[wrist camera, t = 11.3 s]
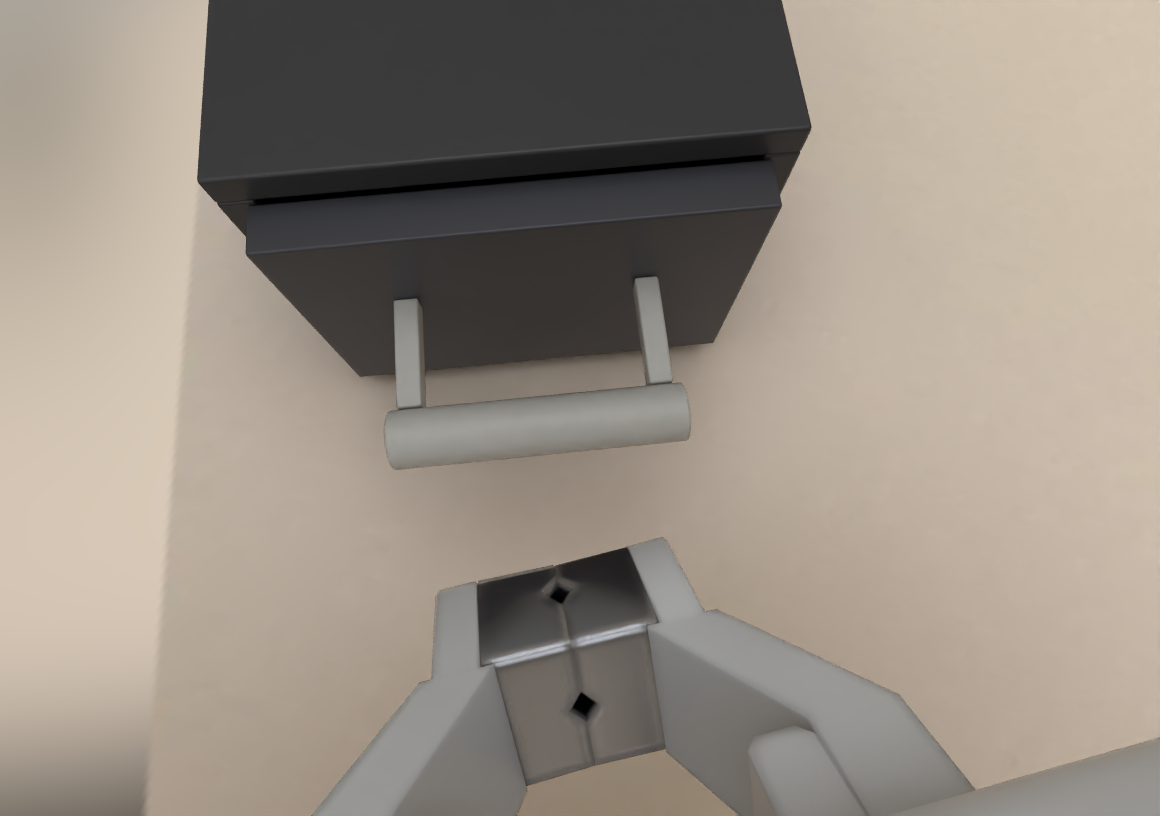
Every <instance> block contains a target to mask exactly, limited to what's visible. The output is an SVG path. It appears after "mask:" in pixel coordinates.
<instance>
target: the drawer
mask: <svg viewBox="0 0 1160 816" xmlns="http://www.w3.org/2000/svg"><path fill="white" fill-rule="evenodd" d="M715 160H716V159H709V160H697V161H686V162H675V163H663V164H652V165H641V166H629V167H618V168H607V169H595V170H584V171H573V172H561V173H550V174H539V175H527V176H516V177H505V178H493V179H482V180H470V181H459V182H448V183H436V184H425V185H414V186H402V187H391V188H380V189H368V190H357V191H346V192H334V193H323V194H312V195H311V196H312V198H313V199H314V200H311V201H300V202H289V203H277V204H266V205H255V206H248V208H247V233H246V255H247V257H248V258H249V259H250V260H251V261H252V262H253V263H254V264H255V265H256V266H257V267H258V268H259V269H260V270H261V271H262V273H263V274H264V275H265V276H266V277H267V278H268V279H269V280H270V281H271V282H272V283H273V284H274V285H275V286H276V288H277V289H278V290H279V291H280V292H281V293H282V294H283V295H284V296H285V297H286V298H287V299H288V300H289V301H290V302H291V304H292V305H293V306H294V307H295V308H296V309H297V310H298V311H299V312H300V313H301V314H302V315H303V316H304V317H305V318H306V320H307V321H308V322H309V323H310V324H311V325H312V326H313V327H314V328H315V329H316V330H317V331H318V332H319V333H320V335H321V336H322V337H323V338H324V339H325V340H326V341H327V342H328V343H329V344H330V345H331V346H332V347H333V348H334V349H335V351H336V352H337V353H338V354H339V355H340V356H341V357H342V358H343V359H344V360H345V361H346V362H347V363H348V364H349V366H350V367H351V368H352V369H353V370H354V371H355V372H356V373H357V374H358V375H359V376H360V377H363V376H374V375H384V374H394V373H396V405H397V408H398V409H399V410H395V411H390V412H388V413H387V415H386V419H385V426H384V439H385V448H386V453H387V457H388V460H389V463H390V465H391V467H392V468H393V469H395V470H401V469H410V468H420V467H430V466H440V465H450V464H460V463H470V462H480V461H490V460H500V459H509V458H519V457H529V456H539V455H549V454H559V453H569V452H579V451H589V450H598V449H608V448H618V447H628V446H638V445H648V444H658V443H668V442H678V441H686V440H688V438H689V435H690V429H691V418H690V407H689V401H688V396H687V392H686V389H685V387H684V385H683V384H682V383H672V381H673V373H672V367H671V360H670V353H669V347H674V346H684V345H694V344H705V343H713V342H714V340H715V338H716V336H717V334H718V332H719V330H720V328H721V326H722V324H723V322H724V320H725V318H726V316H727V314H728V312H729V310H730V308H731V306H732V305H733V303H734V301H735V299H736V297H737V295H738V293H739V291H740V289H741V287H742V285H743V283H744V281H745V279H746V277H747V275H748V273H749V271H750V269H751V267H752V265H753V263H754V261H755V259H756V257H757V255H758V253H759V251H760V249H761V247H762V245H763V243H764V241H765V239H766V237H767V235H768V233H769V231H770V229H771V227H772V225H773V223H774V221H775V219H776V217H777V215H778V213H779V211H780V209H781V207H782V203H781V198H780V194H779V189H778V184H777V180H776V175H775V171H774V166H773V161H772V160H764V161H752V162H741V163H730V164H719V165H714V163H715ZM632 350H642V357H643V364H644V371H645V379H646V386H639V387H629V388H619V389H608V390H598V391H588V392H578V393H568V394H558V395H547V396H537V397H527V398H517V399H507V400H497V401H486V402H476V403H466V404H456V405H446V406H436V407H426V386H425V370H436V369H446V368H456V367H467V366H477V365H487V364H498V363H508V362H518V361H529V360H539V359H549V358H560V357H570V356H580V355H591V354H601V353H612V352H622V351H632Z"/></svg>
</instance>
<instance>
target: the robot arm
mask: <svg viewBox="0 0 1160 816" xmlns="http://www.w3.org/2000/svg"><path fill="white" fill-rule="evenodd" d="M663 749H666V752H667V753H668V754H669V755H670V756H671V757H673V758H674V759H675V760H676V761H677V762H678V763H679V764H681V765H682V766H683V767H684V768H685V769H686V770H688V771H689V772H690V773H691V774H692V775H693V776H694V777H696V778H697V779H698V780H699V781H700V782H701V783H703V784H704V785H705V786H706V787H707V788H708V789H709V790H711V791H712V792H713V793H714V794H715V795H716V796H717V797H719V798H720V799H721V800H722V801H723V802H724V803H726V804H727V805H728V806H729V807H730V808H731V809H732V810H734V811H735V812H736V813H737V814H738V815H739V816H1160V738H1156V739H1153V740H1149V741H1146V742H1142V743H1139V744H1135V745H1132V746H1128V747H1125V748H1121V749H1118V750H1114V751H1111V752H1107V753H1104V754H1100V755H1097V756H1093V757H1089V758H1086V759H1082V760H1079V761H1075V762H1072V763H1068V764H1065V765H1061V766H1058V767H1054V768H1051V769H1047V770H1044V771H1040V772H1037V773H1033V774H1030V775H1026V776H1023V777H1019V778H1016V779H1012V780H1009V781H1005V782H1002V783H998V784H995V785H991V786H988V787H984V788H981V789H977V790H975V788H974V787H973V786H972V785H971V783H970V782H969V781H968V780H967V778H966V777H965V776H964V775H963V773H962V772H961V771H960V770H959V768H958V767H957V766H956V765H955V763H954V762H953V761H952V760H951V758H950V757H949V756H948V755H947V753H946V752H945V751H944V750H943V749H942V747H941V746H940V745H939V744H938V742H937V741H936V740H935V739H934V737H933V736H932V735H931V734H930V732H929V731H928V730H927V729H926V727H925V726H924V725H923V724H922V722H921V721H920V720H919V719H918V717H917V716H916V715H915V714H914V712H913V711H912V710H911V709H910V707H909V706H908V705H907V704H906V702H905V701H904V700H903V699H902V698H901V696H900V695H899V694H896V693H894V692H892V691H890V690H888V689H886V688H884V687H882V686H879V685H877V684H875V683H873V682H871V681H869V680H867V679H865V678H862V677H860V676H858V675H856V674H854V673H852V672H850V671H848V670H845V669H843V668H841V667H839V666H837V665H835V664H833V663H830V662H828V661H826V660H824V659H822V658H820V657H818V656H816V655H813V654H811V653H809V652H807V651H805V650H803V649H801V648H799V647H796V646H794V645H792V644H790V643H788V642H786V641H784V640H782V639H779V638H777V637H775V636H773V635H771V634H769V633H767V632H765V631H762V630H760V629H758V628H756V627H754V626H752V625H750V624H747V623H745V622H743V621H741V620H739V619H737V618H735V617H733V616H730V615H728V614H726V613H724V612H722V611H720V610H718V609H714V610H710V611H706V612H705V610H704V608H703V606H702V604H701V603H700V601H699V599H698V597H697V595H696V593H695V591H694V590H693V588H692V586H691V584H690V582H689V580H688V578H687V577H686V575H685V573H684V571H683V569H682V567H681V565H680V564H679V562H678V560H677V558H676V556H675V554H674V552H673V551H672V549H671V547H670V545H669V543H668V541H667V540H666V539H664V538H663V537H660V538H656V539H653V540H649V541H645V542H642V543H638V544H634V545H631V546H627V547H626V548H622V549H618V550H614V551H610V552H606V553H602V554H598V555H594V556H590V557H587V558H583V559H579V560H575V561H571V562H567V563H563V564H559V565H555V566H553V565H550V566H546V567H541V568H536V569H532V570H527V571H522V572H518V573H513V574H508V575H504V576H499V577H494V578H490V579H485V580H480V581H478V583H477V582H471V583H467V584H462V585H458V586H454V587H450V588H446V589H442V590H439V592H438V594H437V595H436V600H435V619H434V638H433V657H432V676H431V680H428V681H424V682H420V683H419V684H418V685H417V686H416V687H415V689H414V690H413V691H412V692H411V694H410V695H409V696H408V697H407V698H406V700H405V701H404V702H403V703H402V705H401V706H400V707H399V708H398V710H397V711H396V712H395V713H394V714H393V716H392V717H391V718H390V719H389V721H388V722H387V723H386V724H385V726H384V727H383V728H382V729H381V730H380V732H379V733H378V734H377V735H376V737H375V738H374V739H373V740H372V742H371V743H370V744H369V745H368V746H367V748H366V749H365V750H364V751H363V753H362V754H361V755H360V756H359V758H358V759H357V760H356V761H355V762H354V764H353V765H352V766H351V767H350V769H349V770H348V771H347V772H346V774H345V775H344V776H343V777H342V778H341V780H340V781H339V782H338V783H337V785H336V786H335V787H334V788H333V790H332V791H331V792H330V793H329V794H328V796H327V797H326V798H325V799H324V801H323V802H322V803H321V804H320V806H319V807H318V808H317V809H316V810H315V812H314V813H313V814H312V815H311V816H517V813H518V811H519V809H520V806H521V804H522V802H523V799H524V797H525V795H526V792H527V787H526V786H528V785H531V784H535V783H538V782H541V781H545V780H548V779H552V778H555V777H558V776H562V775H565V774H568V773H572V772H575V771H578V770H582V769H585V768H589V767H592V766H595V765H600V764H604V763H608V762H612V761H617V760H621V759H625V758H629V757H634V756H638V755H642V754H646V753H650V752H655V751H659V750H663ZM594 756H595V757H594ZM595 761H596V762H595Z"/></svg>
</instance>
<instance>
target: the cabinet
mask: <svg viewBox="0 0 1160 816" xmlns="http://www.w3.org/2000/svg"><path fill="white" fill-rule="evenodd" d="M810 131H811V122H810V118H809V114H808V110H807V106H806V101H805V97H804V93H803V89H802V85H801V80H800V76H799V72H798V68H797V64H796V59H795V55H794V51H793V47H792V43H791V38H790V34H789V30H788V26H787V22H786V17H785V13H784V9H783V5H782V1H781V0H209V5H208V22H207V37H206V52H205V68H204V83H203V98H202V114H201V129H200V144H199V160H198V175H197V180H198V183H199V184H200V185H201V186H202V188H203V189H204V190H205V191H206V192H207V193H208V194H209V195H210V197H211V198H212V199H213V200H214V201H215V202H217V204H218V206H219V207H220V208H221V209H222V210H223V212H224V213H225V214H226V215H227V216H228V217H229V218H230V219H231V221H232V222H233V223H234V224H235V225H236V226H237V227H238V228H239V230H240V231H241V232H242V233H243V234H244V235H245V236H246V233H247V208H248V206H255V205H266V204H277V203H289V202H300V201H311V200H314V199H313V198H312V196H311V195H312V194H323V193H334V192H346V191H357V190H368V189H380V188H391V187H402V186H414V185H425V184H436V183H448V182H459V181H470V180H482V179H493V178H505V177H516V176H527V175H539V174H550V173H561V172H573V171H584V170H595V169H607V168H618V167H629V166H641V165H652V164H663V163H675V162H686V161H697V160H709V159H716V160H715V163H714V165H719V164H730V163H741V162H752V161H764V160H772V161H773V166H774V171H775V175H776V180H777V184H778V189H779V194H781V191H782V189H783V187H784V185H785V183H786V181H787V179H788V177H789V175H790V173H791V171H792V169H793V167H794V165H795V163H796V161H797V158H798V156H799V154H800V150H801V149H802V147H803V145H804V143H805V141H806V139H807V137H808V135H809V133H810Z"/></svg>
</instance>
